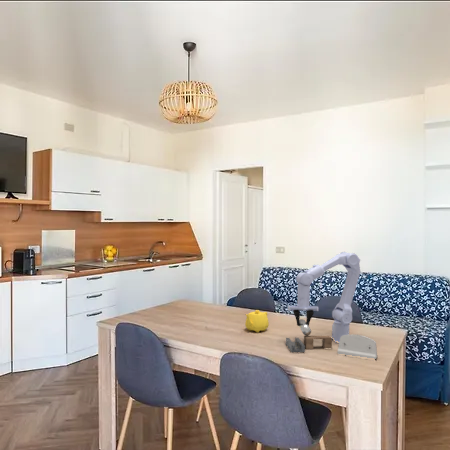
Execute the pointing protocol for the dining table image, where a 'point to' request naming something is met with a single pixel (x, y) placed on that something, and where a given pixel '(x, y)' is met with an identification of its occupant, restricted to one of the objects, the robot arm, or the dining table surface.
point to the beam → (309, 339)
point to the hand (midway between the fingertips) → (302, 325)
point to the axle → (304, 327)
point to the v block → (295, 345)
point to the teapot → (257, 321)
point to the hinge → (357, 346)
